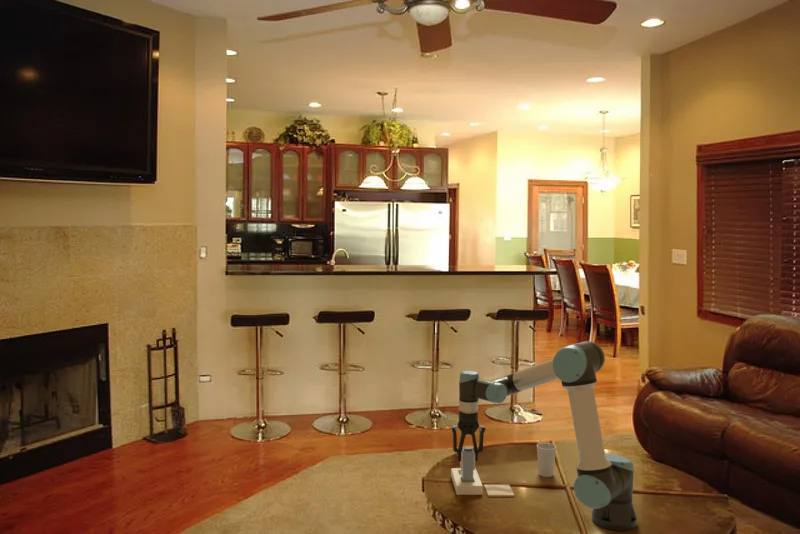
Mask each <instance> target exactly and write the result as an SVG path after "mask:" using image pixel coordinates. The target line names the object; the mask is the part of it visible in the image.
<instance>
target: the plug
mask: <svg viewBox="0 0 800 534" xmlns="http://www.w3.org/2000/svg"><path fill="white" fill-rule="evenodd" d="M462 452H463V470H462V481H463V482H473V464H474V448H473V446H471V445H470V446H469V445H468V446H467V445H465V446H464V445H463V448H462Z"/></svg>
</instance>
